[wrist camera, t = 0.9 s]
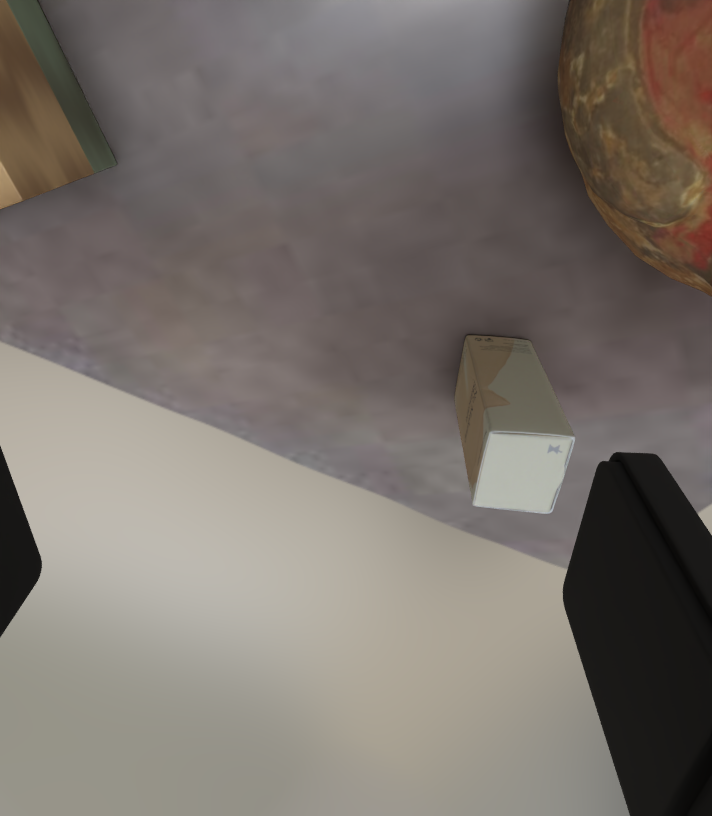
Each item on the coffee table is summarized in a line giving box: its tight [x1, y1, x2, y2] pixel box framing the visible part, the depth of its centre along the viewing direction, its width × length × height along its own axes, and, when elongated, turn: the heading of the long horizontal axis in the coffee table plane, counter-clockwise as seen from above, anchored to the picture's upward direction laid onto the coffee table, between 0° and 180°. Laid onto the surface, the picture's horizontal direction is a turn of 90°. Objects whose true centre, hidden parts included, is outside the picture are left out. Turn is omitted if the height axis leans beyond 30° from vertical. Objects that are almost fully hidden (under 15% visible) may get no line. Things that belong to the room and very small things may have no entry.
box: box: [454, 335, 575, 514], centre depth 34 cm, size 5×4×11 cm
